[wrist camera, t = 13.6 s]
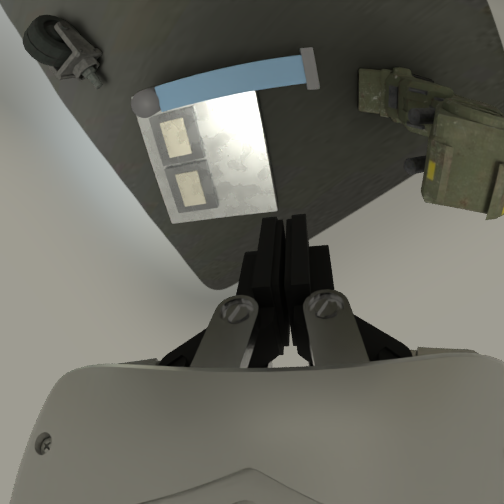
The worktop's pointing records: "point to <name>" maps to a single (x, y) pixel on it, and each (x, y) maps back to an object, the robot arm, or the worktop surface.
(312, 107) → the worktop surface
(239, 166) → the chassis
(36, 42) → the caster wheel
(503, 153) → the mechanical leg
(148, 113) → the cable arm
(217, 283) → the worktop surface
